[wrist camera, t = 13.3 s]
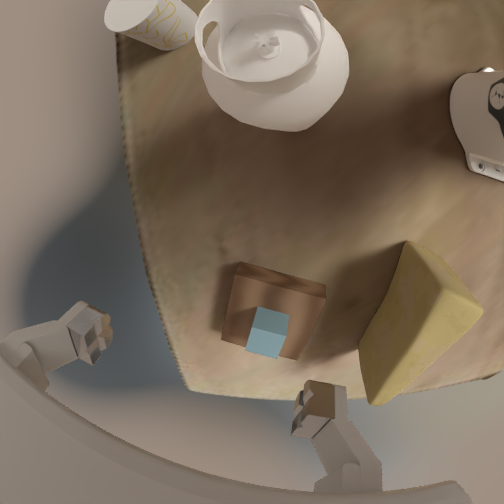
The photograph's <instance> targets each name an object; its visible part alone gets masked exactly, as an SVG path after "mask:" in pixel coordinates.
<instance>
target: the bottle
mask: <svg viewBox="0 0 504 504" xmlns="http://www.w3.org/2000/svg"><path fill="white" fill-rule="evenodd" d="M301 4H304V5H307V6H309V7H310V8H312V9H313V11H314V12H313V11H311V10H310V9H308V8H306V7H304V6H301ZM211 21H216V22H217V26H216V27H215V29H214V30H213V31H212V32H211V34H210V35H209V37H208V40H207V43H206V45H205V48H204V47H203V45H202V34H203V29H204V27H205V25H206V24H207V23H209V22H211ZM195 43H196V46H197V49H198V51H199V54H200V56H201V57H202V77H203V79H204V82H205V85H206V87H207V90H208V93H209V95H210V96H211V97H212V98H213V100H214V101H215V102H216V103H217V104H218V106H219V107H220V108H221V109H222V110H223V111H224V112H226V113H228V114H229V115H231V116H232V117H234V118H235V119H237V120H238V121H240V122H242V123H246V124H249V125H253V126H256V127H260V128H263V129H272V130H280V131H288V132H298V131H302V130H306V129H307V128H309V127H311V126H312V125H314V124H315V123H316V122H317V121H318V120H319V119H320V118H321V117H322V116H323V115H324V114H326V113H327V112H328V111H329V110H330V108H331V107H332V106H333V105H334V104H335V102H336V101H337V100H338V99H339V97H340V96H341V95H342V94H343V91H344V88H345V85H346V82H347V79H348V76H349V58H348V52H347V49H346V47H345V45H344V42H343V40H342V38H341V36H340V34H339V33H338V32H337V31H336V30H335V28H334V27H333V26H332V25H331V24H330V23H329V22H328V21H327V20H326V19H325V18H324V17H323V16H322V14H321V12H320V10H319V9H318V7H317V5H316V3H315V2H314V1H313V0H210V1H209V2H208V4H207V5H206V6H205V7H204V8H203V9H202V11H201V13H200V15H199V18H198V20H197V23H196V25H195Z"/></svg>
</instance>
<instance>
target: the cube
mask: <svg viewBox="0 0 504 504" xmlns="http://www.w3.org/2000/svg"><path fill="white" fill-rule="evenodd" d="M288 320H289V315H288V314H284V313H280V312H277V311H273V310H269V309H266V308H262V307H259V306H258V308H257V311H256V314H255V318H254V321H253V325H252V328H251V331H250V335H249V338H248V342H247V345H246V348H245V350H246V351H249V352H253V353H257V354H260V355H264V356H268V357H272V358H276V359H277V357H278V355H279V353H280V350H281V348H282V346H283V343H284V341H285V339H286V336H287V328H288Z"/></svg>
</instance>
